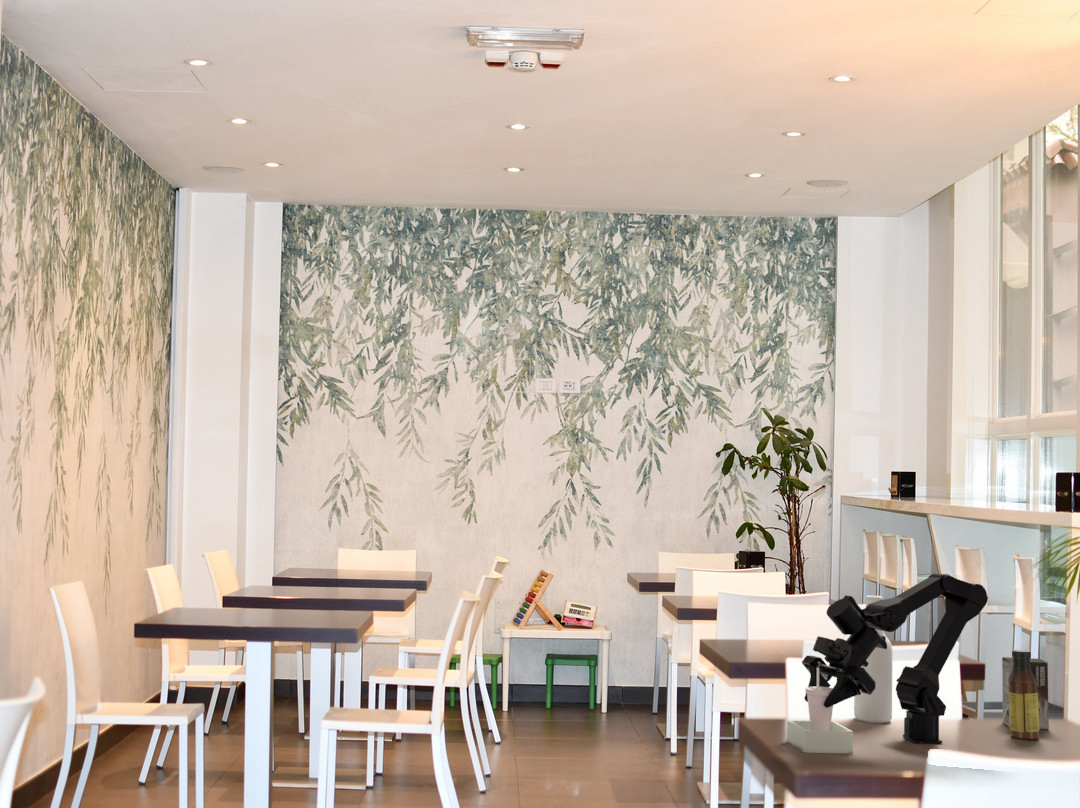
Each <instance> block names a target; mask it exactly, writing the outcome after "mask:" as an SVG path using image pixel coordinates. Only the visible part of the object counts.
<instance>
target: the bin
mask: <svg viewBox="0 0 1080 808" xmlns="http://www.w3.org/2000/svg"><path fill="white" fill-rule="evenodd" d="M786 742H787V743H789V744H790V745H792V746H793V747H795V748H796V749H798V750H800V751H801V752H803V753H804V754H806V753H807V754H854V731H853V730H851V729H850V728H848V727H846V726H844V725H842V724H840V723H838V722H837V721H834V720H831V726H830V730H811V725H810V720H799V719H798V720H797V719H794V720H793V719H792V720H791V719H787V722H786Z"/></svg>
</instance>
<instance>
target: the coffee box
mask: <svg viewBox="0 0 1080 808" xmlns="http://www.w3.org/2000/svg"><path fill="white" fill-rule="evenodd" d="M1001 659H1002V661H1001V663H1002V664H1001V665H1002V666H1001V669H1002V676H1001V677H1002V678H1001V679H1002V680H1001V681H1002V723H1003V724H1005V725H1006V726H1007V727H1009V728H1010V714H1009V681H1008V678H1009V676H1010V674H1011V673H1012V671H1013V657H1006V656H1004V657H1003V656H1002V658H1001ZM1030 664H1031V665H1030V666H1031V671H1032V673H1033V675H1034V676H1035V678H1036V680H1037V692H1038V710H1039V730H1049V729H1050V722H1049V721H1050V718H1049V717H1050V715H1049V713H1050V712H1049V670H1048V669H1049V665H1048V661H1046V660H1044V659H1041V658H1032V657H1031V658H1030Z"/></svg>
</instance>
